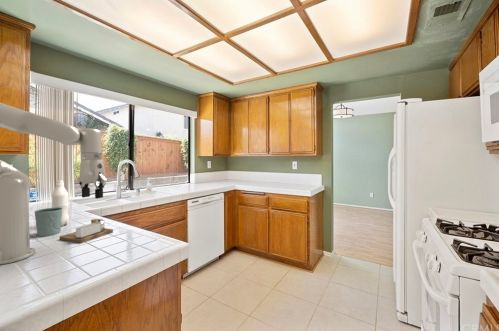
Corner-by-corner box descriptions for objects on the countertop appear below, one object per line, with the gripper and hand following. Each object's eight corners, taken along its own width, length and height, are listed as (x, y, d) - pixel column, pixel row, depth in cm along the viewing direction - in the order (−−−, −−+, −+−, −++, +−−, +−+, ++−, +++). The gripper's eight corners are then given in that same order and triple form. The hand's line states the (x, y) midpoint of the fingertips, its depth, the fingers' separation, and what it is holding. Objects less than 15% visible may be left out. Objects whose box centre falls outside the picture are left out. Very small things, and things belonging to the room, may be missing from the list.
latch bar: (101, 228, 111) (100, 218, 111) (106, 229, 110) (106, 218, 110) (75, 236, 100) (75, 225, 100) (81, 237, 99) (81, 225, 99)
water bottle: (59, 227, 120) (58, 181, 119) (48, 227, 121) (47, 180, 120) (72, 223, 127) (71, 179, 126) (62, 223, 128) (61, 179, 128)
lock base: (81, 243, 98) (80, 229, 97) (59, 239, 102) (59, 226, 102) (113, 232, 112) (112, 220, 112) (92, 229, 117) (92, 218, 116)
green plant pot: (29, 236, 107) (29, 211, 106) (53, 229, 117) (52, 206, 116) (46, 238, 104) (45, 212, 104) (68, 231, 114) (67, 207, 114)
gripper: (114, 157, 99) (115, 197, 99) (85, 157, 104) (87, 195, 105) (97, 157, 92) (98, 200, 92) (68, 157, 97) (69, 197, 98)
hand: (92, 197), depth 99 cm, fingers open, 7 cm apart
